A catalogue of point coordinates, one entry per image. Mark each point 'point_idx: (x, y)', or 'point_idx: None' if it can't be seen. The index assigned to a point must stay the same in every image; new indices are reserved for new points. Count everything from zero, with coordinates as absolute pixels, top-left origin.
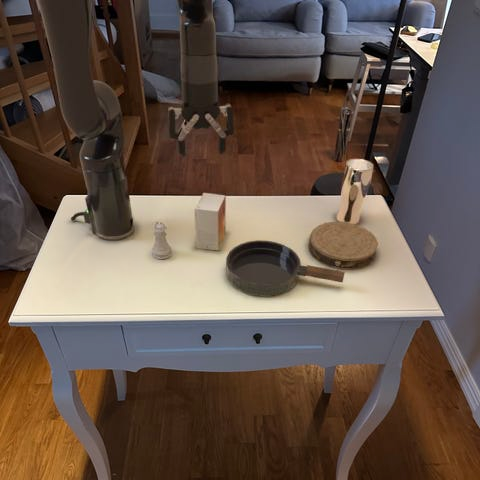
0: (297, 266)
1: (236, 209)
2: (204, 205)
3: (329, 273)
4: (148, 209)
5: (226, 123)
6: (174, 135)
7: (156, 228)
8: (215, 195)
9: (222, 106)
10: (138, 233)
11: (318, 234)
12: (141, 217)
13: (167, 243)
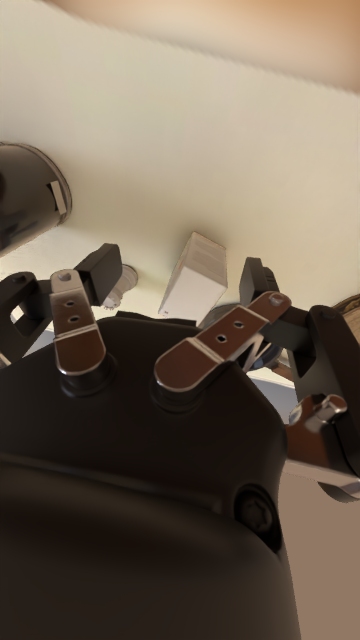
0: (271, 356)
1: (294, 148)
2: (176, 310)
3: (290, 380)
4: (77, 91)
5: (316, 339)
6: (49, 319)
7: (105, 307)
8: (206, 284)
9: (310, 470)
10: (81, 209)
11: (352, 322)
12: (71, 139)
13: (128, 286)
